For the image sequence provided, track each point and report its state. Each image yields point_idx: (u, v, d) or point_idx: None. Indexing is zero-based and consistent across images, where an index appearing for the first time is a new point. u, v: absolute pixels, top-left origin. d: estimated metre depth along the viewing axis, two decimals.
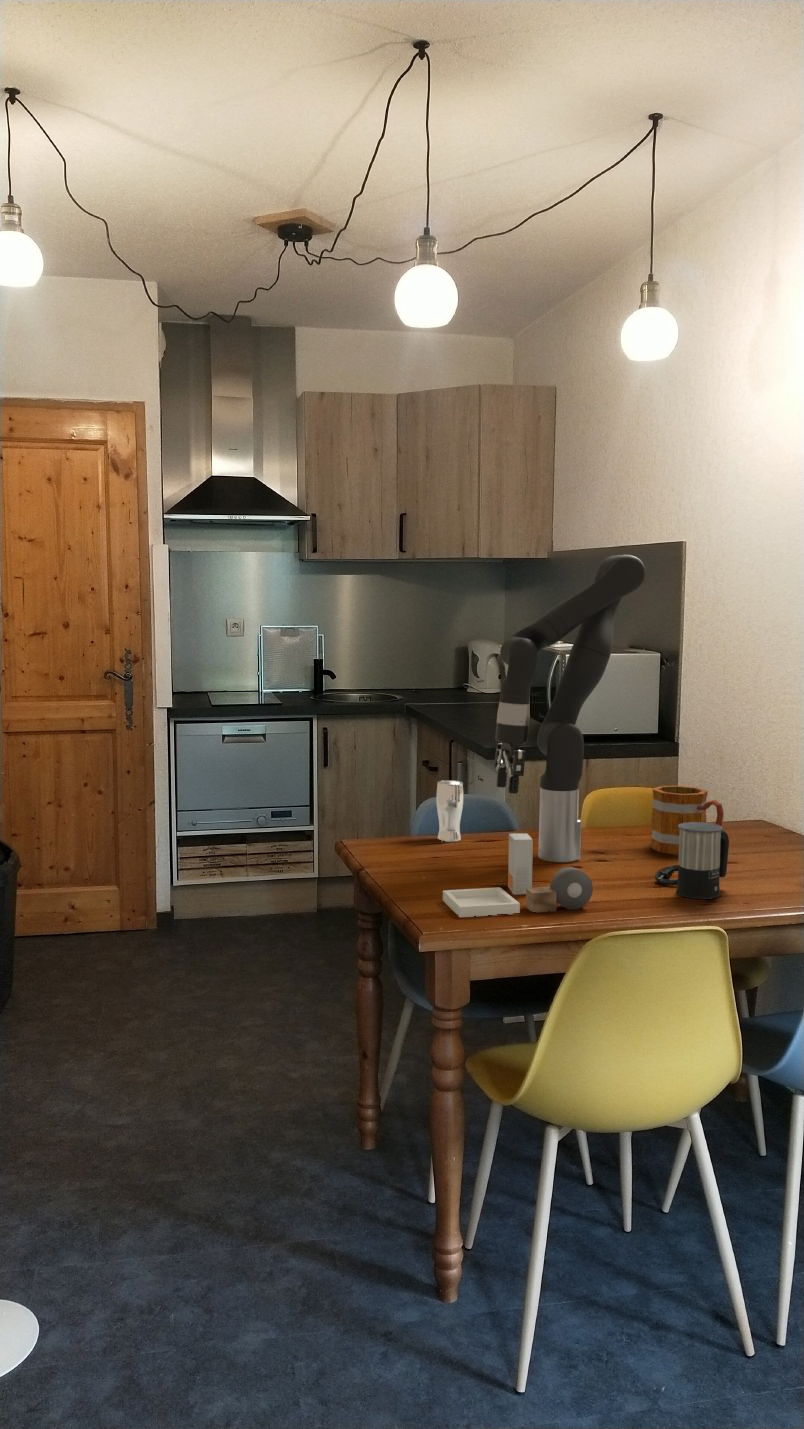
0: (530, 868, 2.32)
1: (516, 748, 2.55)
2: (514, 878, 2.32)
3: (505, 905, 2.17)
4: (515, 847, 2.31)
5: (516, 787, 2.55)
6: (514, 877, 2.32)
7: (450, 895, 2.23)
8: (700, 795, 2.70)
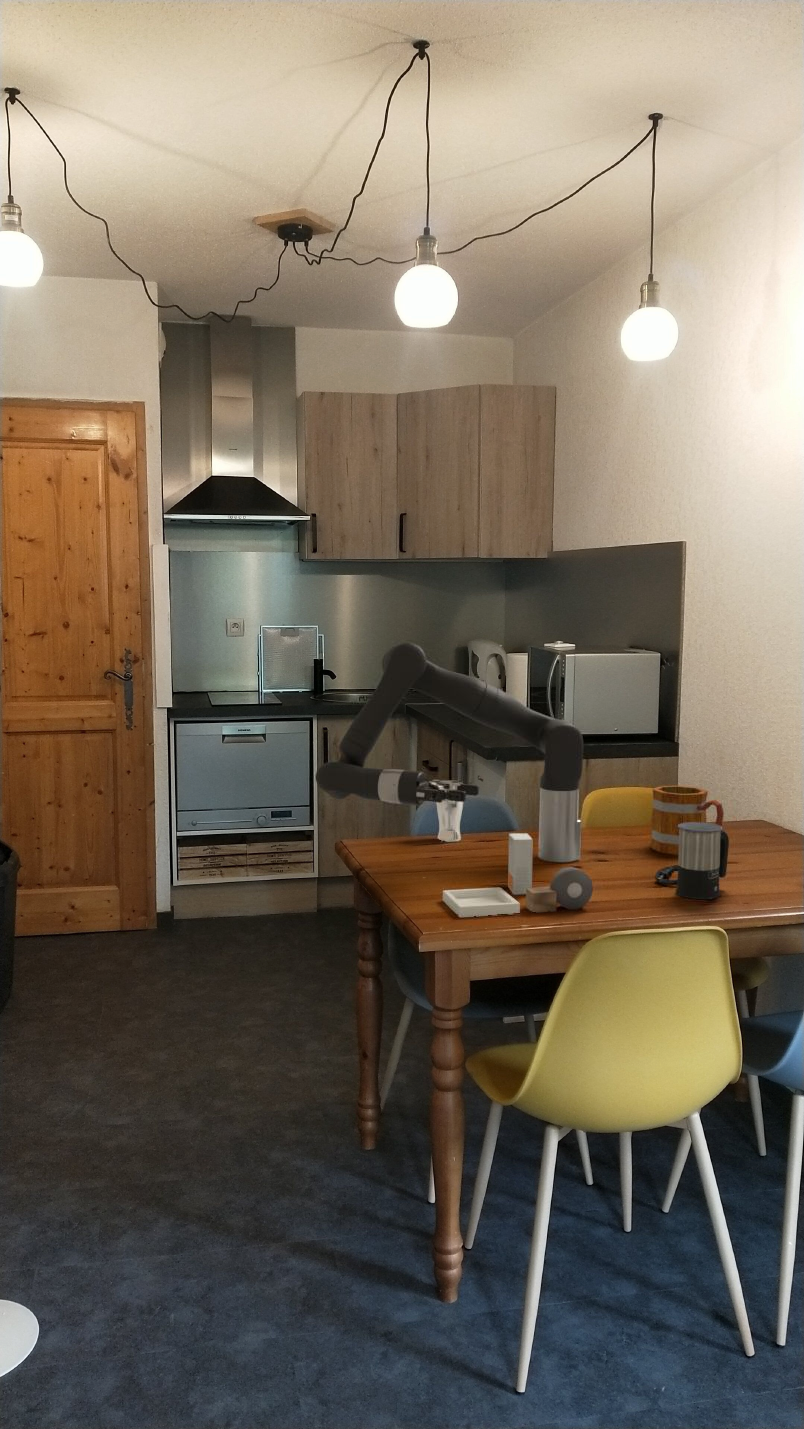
0: (530, 868, 2.32)
1: None
2: (514, 878, 2.32)
3: (505, 905, 2.17)
4: (515, 847, 2.31)
5: (457, 795, 2.33)
6: (514, 877, 2.32)
7: (450, 895, 2.23)
8: (700, 795, 2.70)
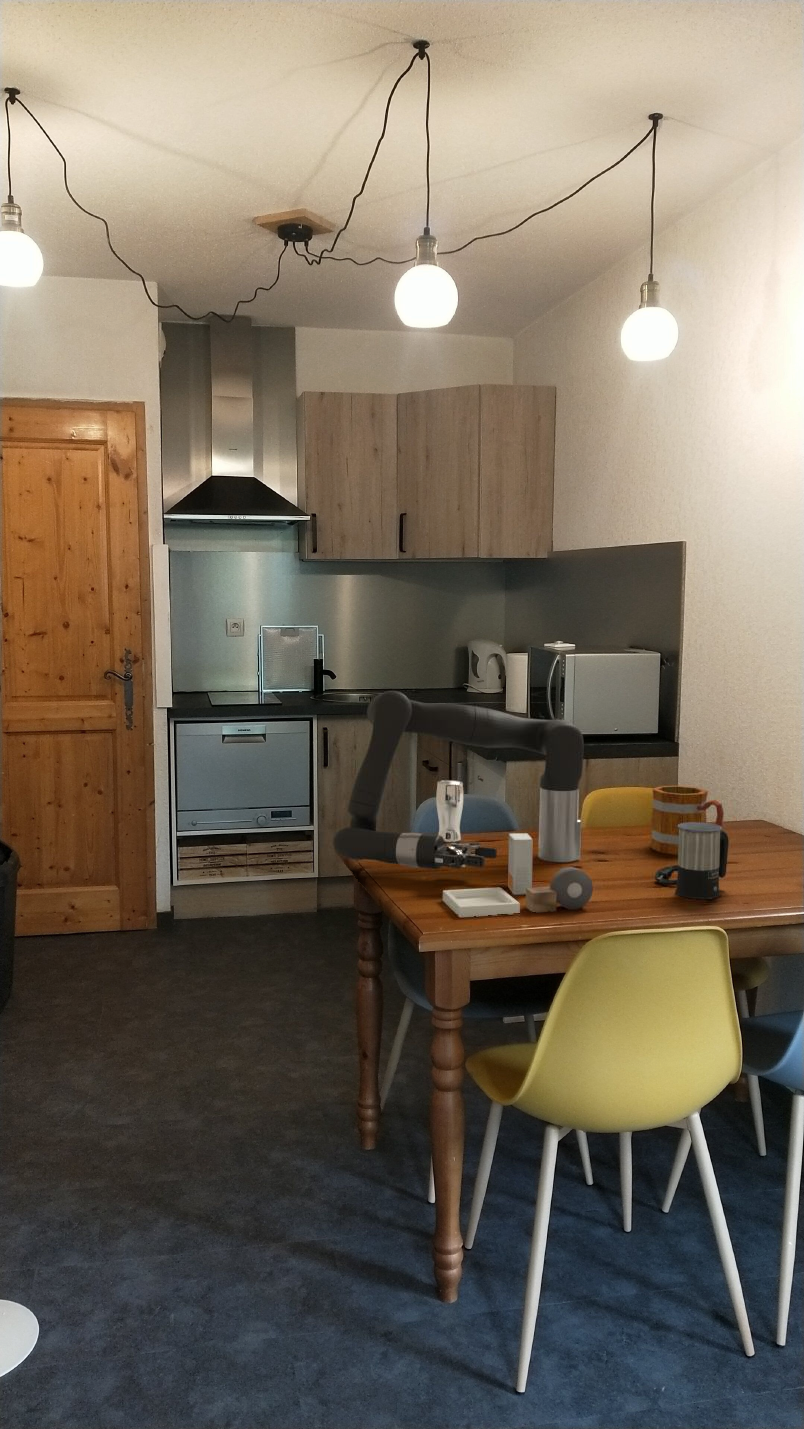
0: (530, 868, 2.32)
1: None
2: (514, 878, 2.32)
3: (505, 905, 2.17)
4: (515, 847, 2.31)
5: (475, 860, 2.33)
6: (514, 877, 2.32)
7: (450, 895, 2.23)
8: (700, 795, 2.70)
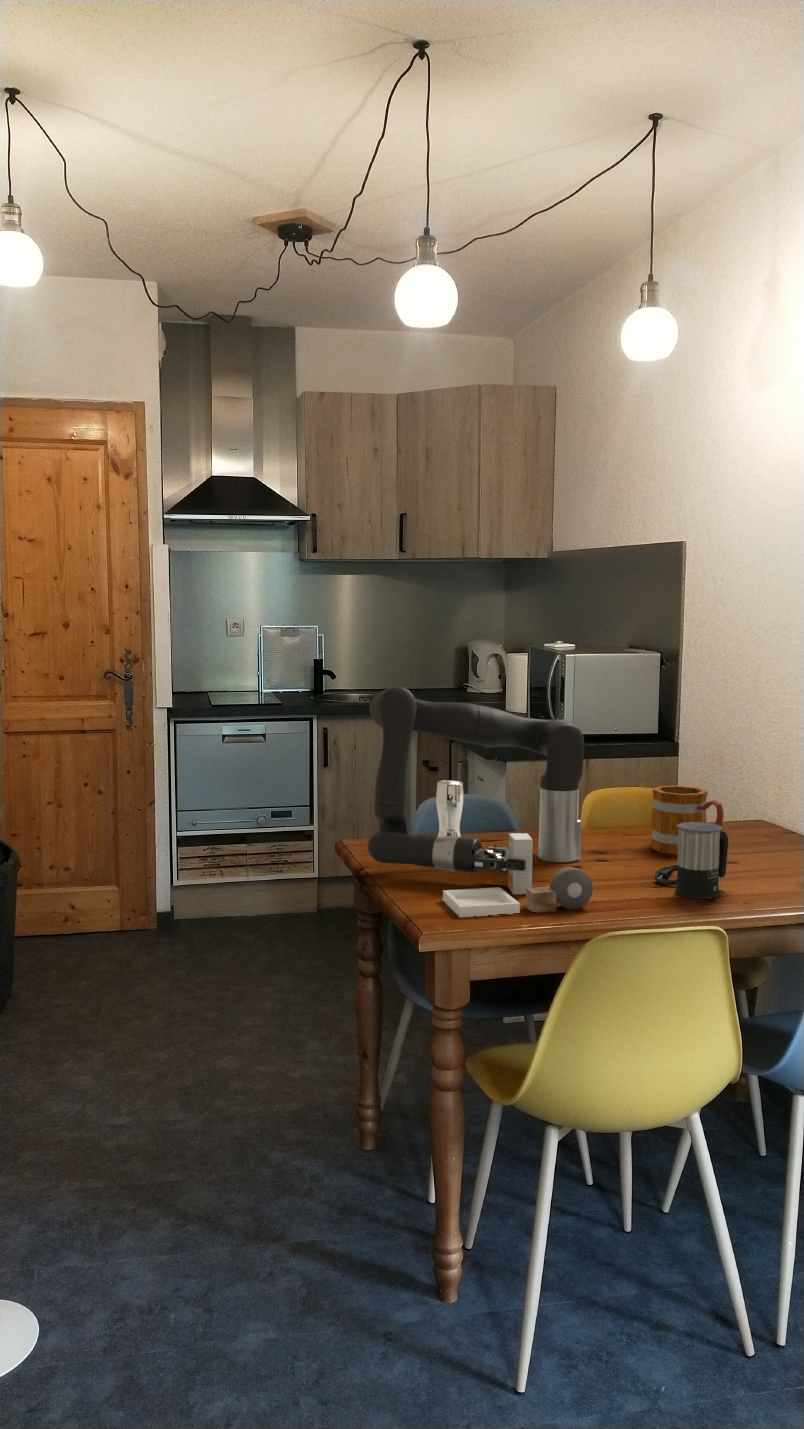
0: (530, 868, 2.32)
1: None
2: (514, 878, 2.32)
3: (505, 905, 2.17)
4: (515, 847, 2.31)
5: (516, 864, 2.30)
6: (514, 877, 2.32)
7: (450, 895, 2.23)
8: (700, 795, 2.70)
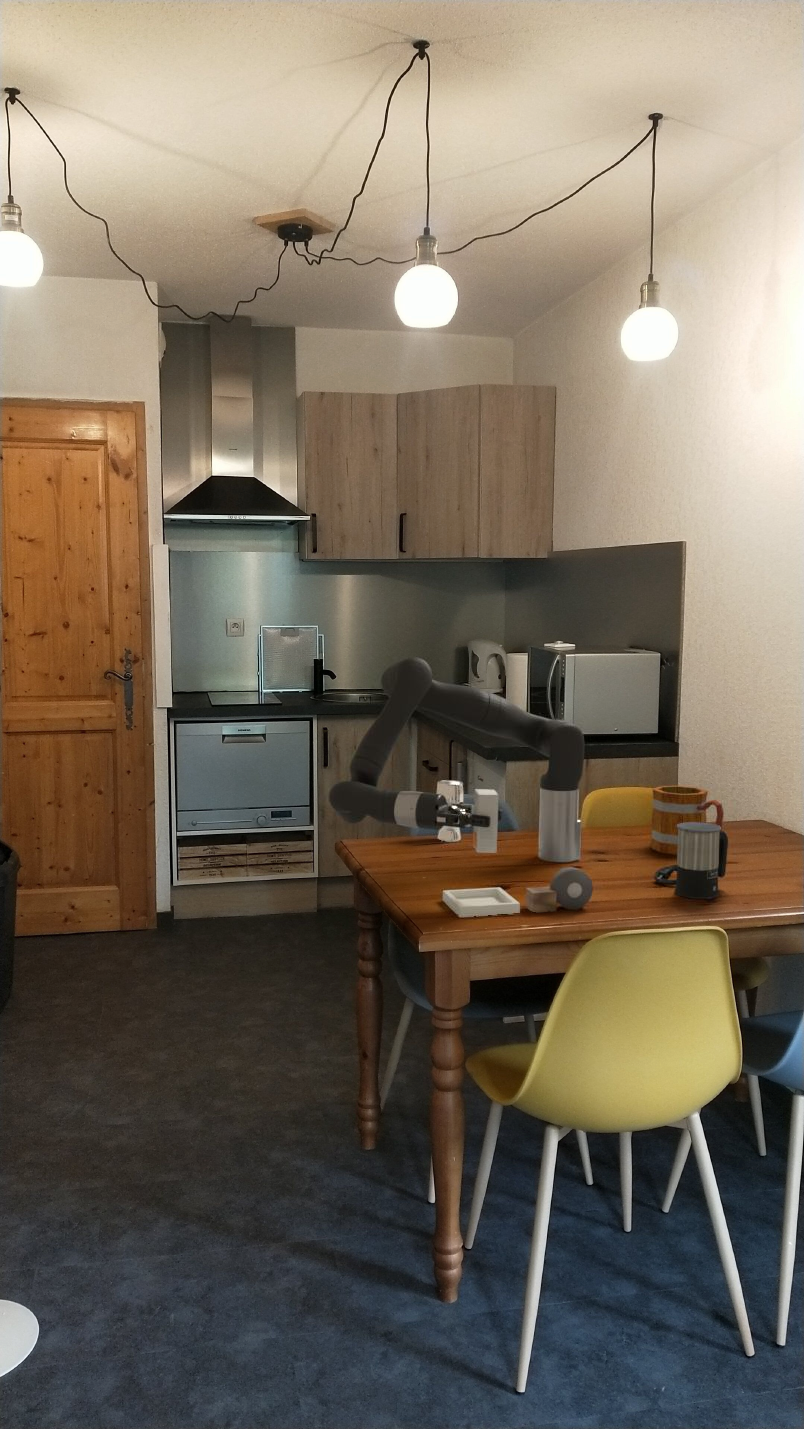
0: (495, 825, 2.21)
1: None
2: (478, 835, 2.21)
3: (505, 905, 2.17)
4: (480, 802, 2.20)
5: (480, 820, 2.19)
6: (478, 834, 2.21)
7: (450, 895, 2.23)
8: (700, 795, 2.70)
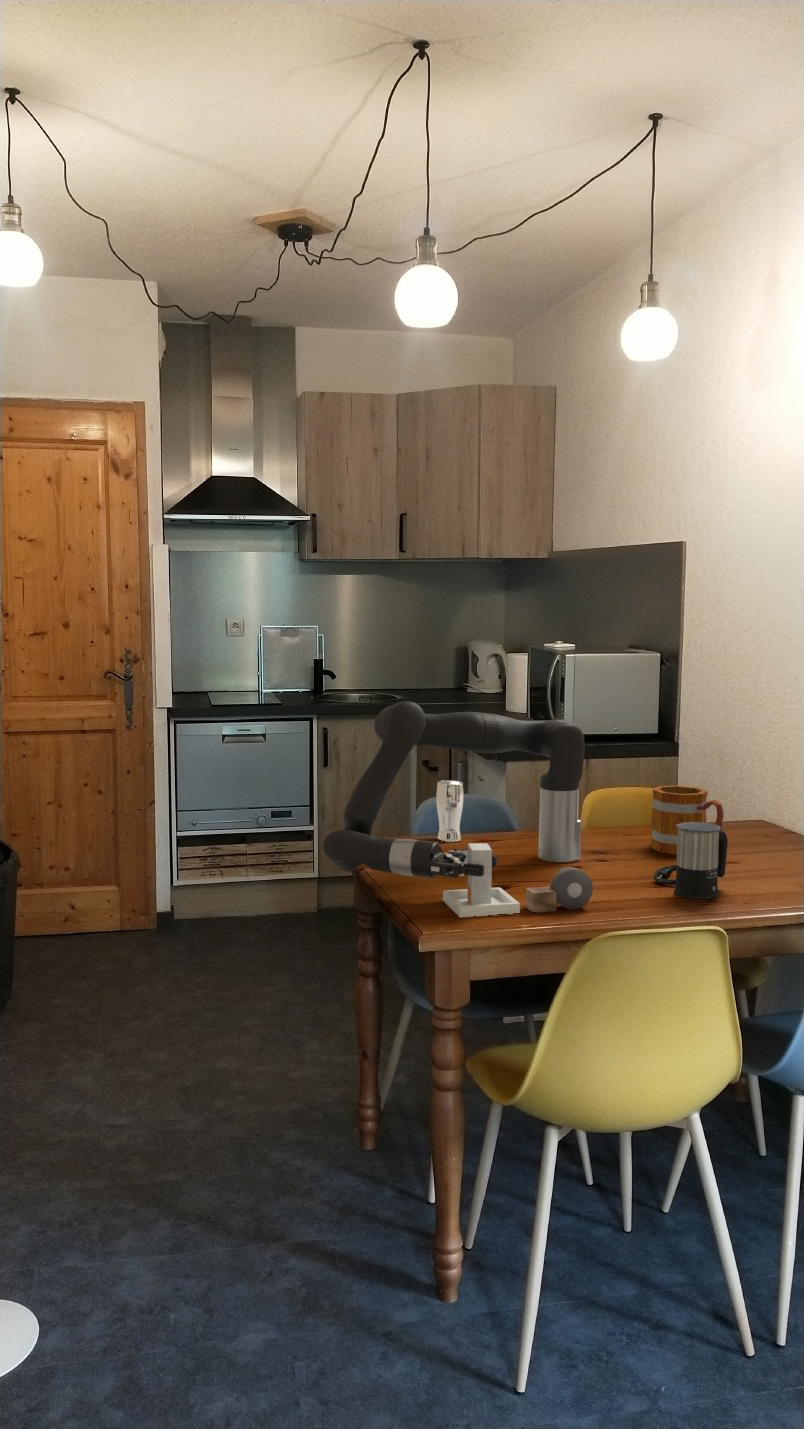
0: (489, 880, 2.19)
1: None
2: (472, 891, 2.19)
3: (505, 905, 2.17)
4: (473, 858, 2.18)
5: (474, 869, 2.17)
6: (472, 890, 2.19)
7: (450, 895, 2.23)
8: (700, 795, 2.70)
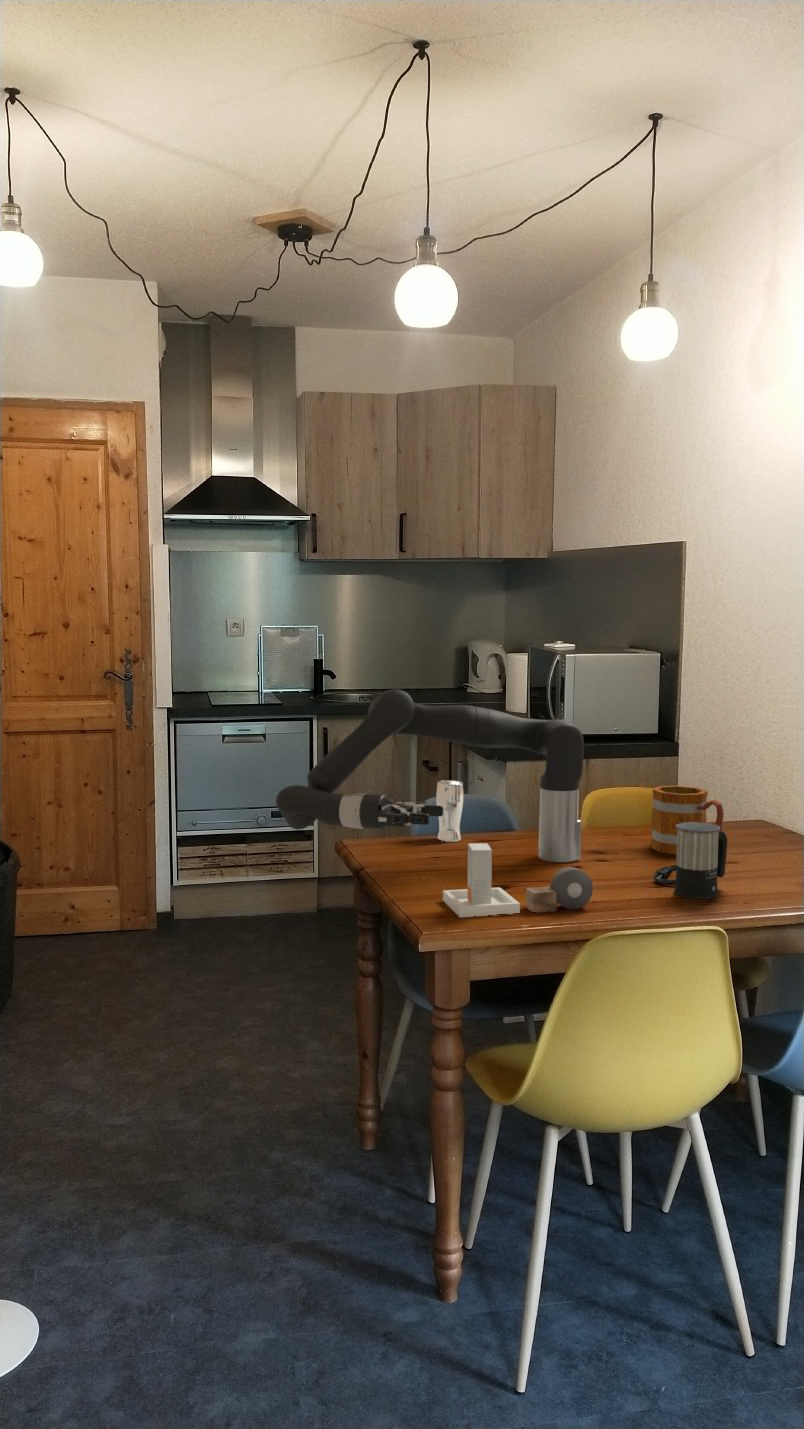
0: (489, 880, 2.19)
1: None
2: (472, 891, 2.19)
3: (505, 905, 2.17)
4: (473, 858, 2.18)
5: (420, 818, 2.25)
6: (472, 890, 2.19)
7: (450, 895, 2.23)
8: (700, 795, 2.70)
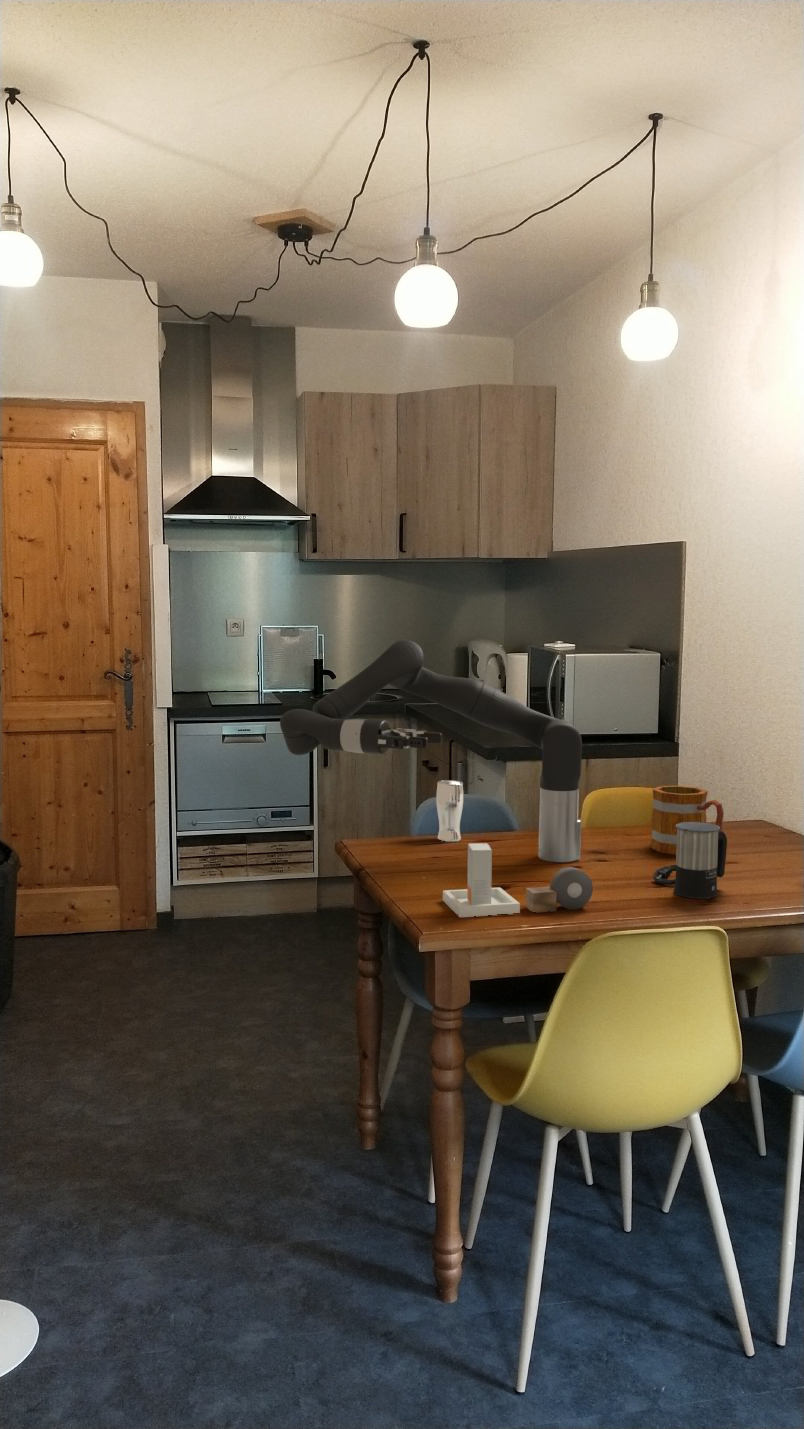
0: (489, 880, 2.19)
1: None
2: (472, 891, 2.19)
3: (505, 905, 2.17)
4: (473, 858, 2.18)
5: (418, 741, 2.30)
6: (472, 890, 2.19)
7: (450, 895, 2.23)
8: (700, 795, 2.70)
